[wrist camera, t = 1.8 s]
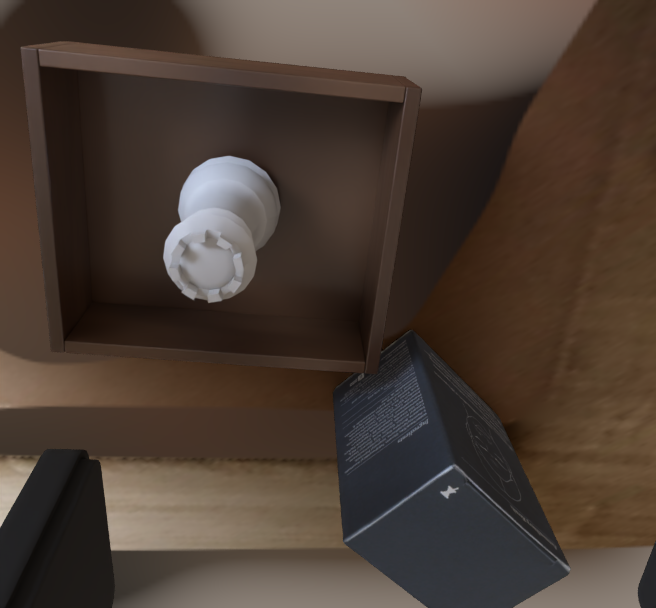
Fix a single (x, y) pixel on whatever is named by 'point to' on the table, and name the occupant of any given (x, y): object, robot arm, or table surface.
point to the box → (438, 486)
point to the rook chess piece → (221, 228)
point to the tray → (166, 185)
